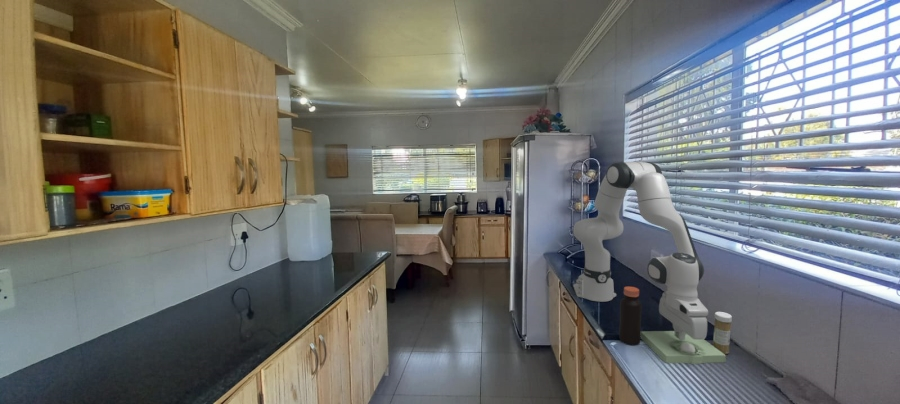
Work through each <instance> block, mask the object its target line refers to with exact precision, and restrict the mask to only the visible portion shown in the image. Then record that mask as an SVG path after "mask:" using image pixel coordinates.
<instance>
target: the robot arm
mask: <svg viewBox="0 0 900 404" xmlns="http://www.w3.org/2000/svg"><path fill="white" fill-rule="evenodd" d="M628 189H633V190H634V191H635V192H636V196H637V204H638V211H639V214H640V215H641V218H642V219H643V220H645V221H646V222H648V223H649V224H651V225H654V226H657V227H660V228H662V229H665V230H667V231H668V232H669V233H670V234H671V236H672V238H673V241H674V244H675V248H676V250H677V252H673V253H671V254H670V255H667V256H656V257H653V258H651V259H650V260H649V262H648V264H647V274H648V276H649V278H650V279H651V280H652V281H654V282H655V283H657V284H661V285H665V286H667V287H666V290H665V291H663V293H662V296H661V297H660V299H659V305H658V312H659V314H660V315H661V316H662V317H664V318H665V319H667V321H669V322H671V324H672V328H673V331H675V334H674V335H675V336H676V337H677V338H678V339H679V340H685V335H686V334H687V335H689V336H690V337H691V338H693V339H695V340H702V339H704V340H705V339H706V338H707V335H708V334H707V333H708V319H707V316H709V310H708V308H707V307H706V306H705V305H704V304H703V302H701V300H700V299H699V298H698V297H699V294H698V293H699V292H698V290H697V289H698V288H697V287H698V286H699V282H700V281H701V280H702V278H703V277H704V274H705V267H704V265H703V262H702V260H701V259H700V257H699V255H698V253H697V250H696V247H695V244H694V241H693V239H692V238H693V237H692V235H691V233H690V230H689V227H688V224H687V222H686V220H685V218H684V216H683V215H682V214H680V213H679V212H678V211H677V210H676V208H675V206H674V204H673V200H672V195H671V192H670V191H671V190H670V189H669V184H668V182H667V179H666V177H665V176H664V175H663V171H662V169H661V167H660V166H659V165H658V164H656V163H653V162H650V161H647V162H644V161H636V160H635V161H625V162H624V161H617V162H613V163H611V164H610V165H609V166H608V168H607V171H606V174H605V176H604V177H603V179H602V181H601V182H600V185H599V188H598V191H597V194H596V196H595V200H594V202H593V203H594V204H593V205H594V207H595V209H596V211H597V212H598V215H597V216H596V217H589V218H583V219H579V220H578V221H576V222H575V223H574V225H573V227H572V228H573V229H572V232H573V235H574V238H575V239H576V240H577V241H579V242H580V243H581V245H582V247H583V250H584V268H583V272H582V274H580V275H579V276H578V277H577V279H575V283H574V284H572V285H573V290H574V292H575V294H576V296H577V297H578V298H583V299H585V300H589V301H593V302H602V303H604V302H609V301H612V300H613V299H614V298H615V297H617V293H616V292H615V290H614V279H612V278H611V276H612V269H611V253H610V251H609V250H607V249H606V248H605V247H604V245H603V241H604V240H612V239H615V238H617V237H619V236H622V234H623V232H624V223H623V221H622V219H621V218H620V210H621V207H622V205H623V202H624V199H625V196H626V193H627V191H628Z"/></svg>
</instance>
